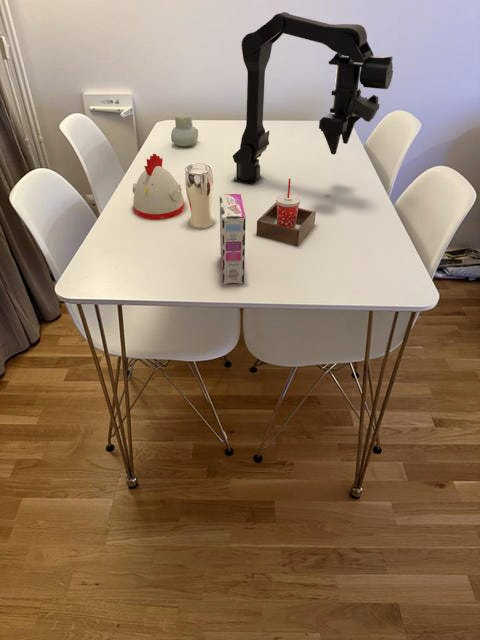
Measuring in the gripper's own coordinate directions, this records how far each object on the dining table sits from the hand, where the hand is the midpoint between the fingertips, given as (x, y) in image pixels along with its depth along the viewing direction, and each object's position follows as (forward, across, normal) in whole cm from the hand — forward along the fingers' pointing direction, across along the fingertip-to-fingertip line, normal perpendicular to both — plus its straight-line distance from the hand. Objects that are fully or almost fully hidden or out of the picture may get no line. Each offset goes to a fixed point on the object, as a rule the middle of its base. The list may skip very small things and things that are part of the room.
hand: (339, 148), depth 124 cm
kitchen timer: (+14, -29, +41) cm, 52 cm away
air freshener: (+13, +16, +63) cm, 66 cm away
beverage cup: (+15, -24, +4) cm, 28 cm away
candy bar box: (+14, -46, +7) cm, 49 cm away
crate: (+14, -24, +4) cm, 28 cm away
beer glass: (+14, -31, +26) cm, 42 cm away
